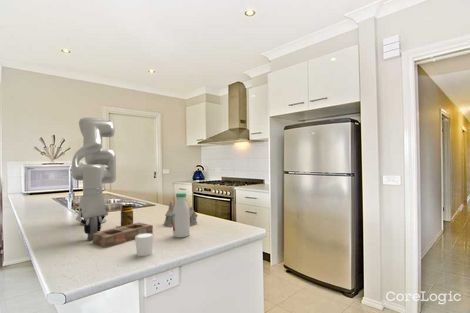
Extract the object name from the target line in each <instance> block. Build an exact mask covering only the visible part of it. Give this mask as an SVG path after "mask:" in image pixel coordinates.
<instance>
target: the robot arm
mask: <svg viewBox="0 0 470 313" xmlns="http://www.w3.org/2000/svg"><path fill="white" fill-rule="evenodd" d="M78 128H79V130H80V133H81V136H82V137H83V140H82V142H83V144H82V147H80V148H79V149H78V150H77V151H76V152H75V153H74V155H73V157H72V160H71V176H72V179H74V180H75V181H82V195H80V199H79V203H78V204H79V205H78V214H77V216H76V217H75V220H76V221H77V222H80V225H81V226H82V225H83V232H84V234H87V235H88V234H90V225H89V219H90V218H92V217H95V216H98V232H101V230H102V229H101V228H102V224H103V223H106V220H107V219H106V217H107V216H108V215H109V213H108V211H107V210H106V201H105V196H104V193H103V192H105V188H103V184H104V185H105V184H114V183H115V182H116V179H117V161H116V160H117V158H116V153H115V150H114V149H111V148H103V138H112V137H114V136H115V131H116V130H115V129H116V128H115V124H114V121H113V119H111V118H101V117H82V118H80V119H79V121H78ZM83 158H84V162H85V164H84V163H82V164H80V162H81V160H82V159H83ZM105 166H107V167H105Z"/></svg>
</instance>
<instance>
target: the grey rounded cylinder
mask: <svg viewBox="0 0 470 313" xmlns="http://www.w3.org/2000/svg"><path fill="white" fill-rule="evenodd" d="M89 225H90V234H87V241H90V242H91V241H93V233H97V232H99V231H98V216H95V217H92V218H90V219H89Z"/></svg>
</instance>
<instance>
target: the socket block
mask: <svg viewBox="0 0 470 313" xmlns="http://www.w3.org/2000/svg"><path fill="white" fill-rule="evenodd" d="M153 227H154V226H153V225H152V224H148V223H143V222H135V223H134V222H133V224H130V225H126V226H122V227H118V228H116V227H115V228H114V227H113V228H110V229H105V230H102V231H101V230H100V231H98V232H97V233H93V240H92V243H93V244H95V245H99V246H101V247H104V248H109V247H112V246H113V247H114V246H115V245H116V246H117V245H119V244H121V243H126V242H129V241H133V240H135V236H136V235H138V234H143V233H152V234H154V231H153V230H154V228H153Z"/></svg>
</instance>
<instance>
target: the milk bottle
mask: <svg viewBox="0 0 470 313" xmlns="http://www.w3.org/2000/svg"><path fill="white" fill-rule="evenodd" d="M175 197H176V200H175V205H173V206H174V209H173V227H172V235H173V237H175V238H186V237H189V236H190V234H191V233H190V232H191V231H190V227H191V226H190V218H189V208H190V206H188V203H187V200H186V198H187V193H186V192H178V193H175Z"/></svg>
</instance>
